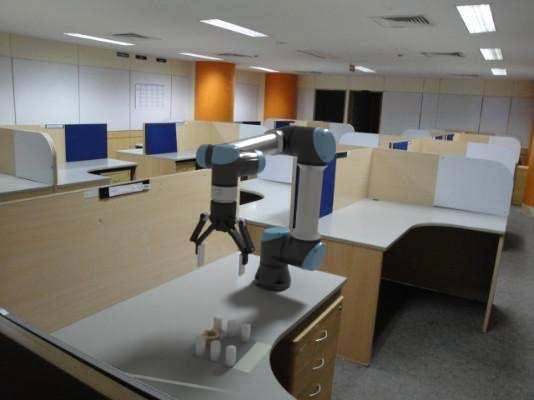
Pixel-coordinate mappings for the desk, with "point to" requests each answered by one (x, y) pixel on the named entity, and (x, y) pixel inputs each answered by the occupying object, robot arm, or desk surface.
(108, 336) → the desk surface
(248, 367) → the spacer field
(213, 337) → the nut
